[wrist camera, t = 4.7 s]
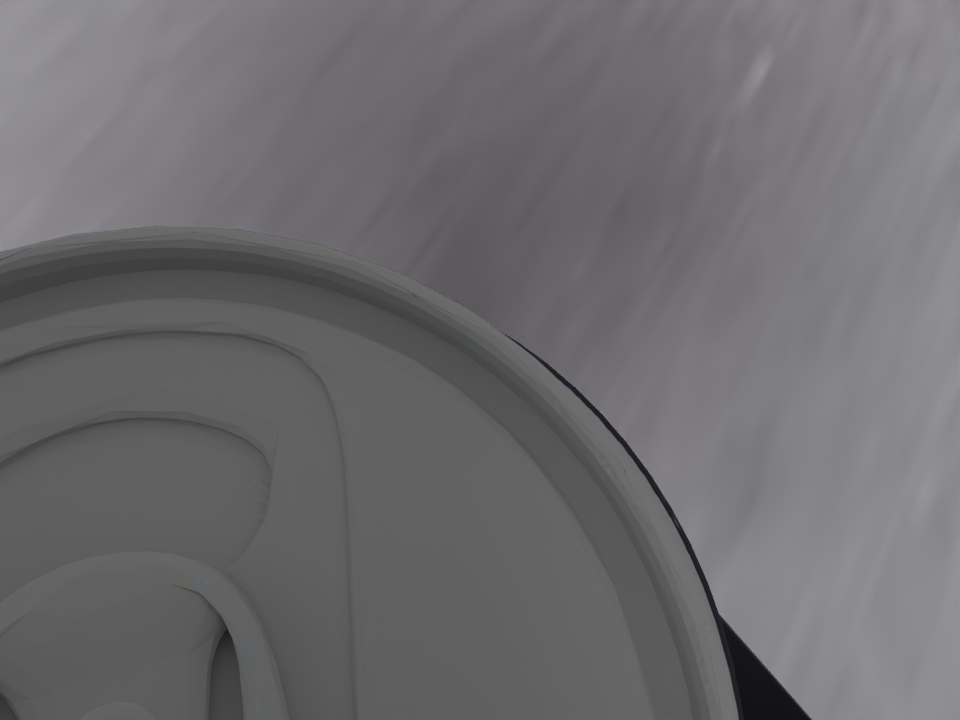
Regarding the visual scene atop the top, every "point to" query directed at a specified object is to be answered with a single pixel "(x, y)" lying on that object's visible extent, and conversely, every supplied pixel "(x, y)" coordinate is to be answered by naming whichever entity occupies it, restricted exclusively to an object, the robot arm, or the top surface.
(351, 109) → the top surface
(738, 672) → the robot arm
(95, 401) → the beverage can
